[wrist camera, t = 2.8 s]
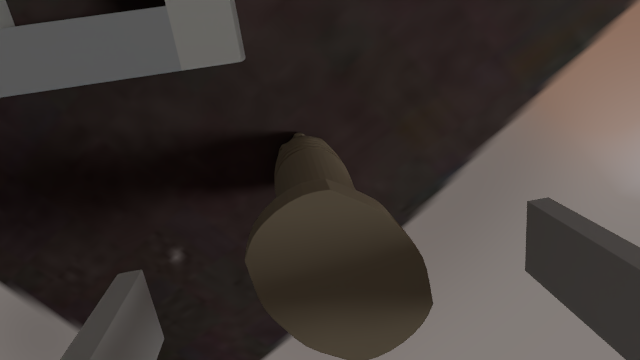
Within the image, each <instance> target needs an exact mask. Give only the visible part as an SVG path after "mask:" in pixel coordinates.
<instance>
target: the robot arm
mask: <svg viewBox="0 0 640 360" xmlns="http://www.w3.org/2000/svg"><path fill="white" fill-rule="evenodd" d="M526 230H527V231H526V262H525V271H526V272H528V273H529V274H530V275H531V276H532V277H533V278H534V279H536V280H537V281H538V282H539V283H540V284H541V285H542V286H543V287H545V288H546V289H547V290H548V291H549V292H550V293H552V295H554V296H555V297H556V298H557V299H558V300H559V301H560V302H562V303H563V304H564V305H565V306H566V307H567V308H568V309H569V310H570V311H572V312H573V313H574V314H575V315H576V316H577V317H578V318H580V319H581V320H582V321H583V322H584V323H585V324H586V325H587V326H589V327H590V328H591V329H592V330H593V331H594V332H595V333H596V334H598V335H599V336H600V337H601V338H602V339H603V340H605V341H606V342H607V343H608V344H609V345H610V346H611V347H612V348H613V349H615V350H616V351H617V352H618V353H619V354H620V355H622V357H624V358H625V359H626V360H640V247H638V246H636V245H634V244H632V243H630V242H628V241H627V240H625V239H623V238H621V237H619V236H618V235H616V234H614V233H612V232H610V231H609V230H607V229H605V228H603V227H601V226H599V225H597V224H596V223H594V222H592V221H590V220H588V219H587V218H585V217H583V216H581V215H579V214H578V213H576V212H574V211H572V210H570V209H568V208H566V207H565V206H563V205H561V204H559V203H558V202H556V201H554V200H552V199H550V198H543V199H538V200H532V201H527V229H526ZM163 340H164V336H163V333H162V330H161V327H160V324H159V321H158V318H157V315H156V311H155V308H154V305H153V302H152V299H151V296H150V293H149V290H148V287H147V284H146V281H145V277H144V274H143V271H142V270H137V271H132V272H126V273H121V274H118V275H117V276H116V278H115V279H114V281H113V282H112V284H111V285H110V287H109V288H108V290H107V291H106V293H105V294H104V296H103V297H102V298H101V300H100V301H99V303H98V304H97V306H96V307H95V309H94V310H93V312H92V313H91V315H90V316H89V318H88V319H87V321H86V322H85V324H84V325H83V327H82V328H81V330H80V331H79V333H78V334H77V336H76V337H75V339H74V340H73V342H72V343H71V345H70V346H69V347H68V349H67V350H66V352H65V353H64V355H63V356H62V358H61V359H60V360H157V357H158V354H159V351H160V349H161V346H162V343H163Z"/></svg>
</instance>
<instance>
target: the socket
mask: <svg viewBox="0 0 640 360" xmlns="http://www.w3.org/2000/svg"><path fill="white" fill-rule="evenodd" d="M165 4H166V6H162V7H155V8H147V9H140V10H133V11H125V12H118V13H111V14H103V15H96V16H89V17H82V18H74V19H67V20H60V21H52V22H45V23H38V24H31V25H23V26H16V27H15V25H14V22H13V19H12V16H11V14H10V11H9V8H8V6H7V3H6V0H0V97H7V96H14V95H21V94H27V93H34V92H41V91H48V90H54V89H61V88H68V87H74V86H81V85H88V84H95V83H101V82H108V81H115V80H122V79H128V78H135V77H142V76H148V75H155V74H162V73H169V72H175V71H182V70H189V69H196V68H202V67H209V66H216V65H222V64H229V63H236V62H242V61H243V60H244V59H245V53H244V48H243V42H242V37H241V32H240V27H239V21H238V16H237V11H236V6H235V1H234V0H165Z"/></svg>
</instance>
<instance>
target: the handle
mask: <svg viewBox="0 0 640 360" xmlns="http://www.w3.org/2000/svg"><path fill="white" fill-rule="evenodd" d="M274 180H275V192H276V196H277V198H276V199H274V200H273V201H272V202H271V203H270V204H269V205H268V206H267V207H266V208H265V209H264V210H263V211H262V213H261V214H260V216H259V217H258V218H257V220H256V221H255V223H254V225H253V227H252V230H251V232H250V235H249V238H248V242H247V246H246V253H245V262H246V265H247V268H248V271H249V274H250V277H251V279H252V282H253V285H254V287H255V290H256V293H257V295H258V298H259V300H260V301H261V303H262V305H263V307H264V309H265V310H266V311H267V312H268V313H269V315H270V316H271V317H272V318H273V319H274V320H275V321H276V322H277V323H278V324H280V325H281V326H282V327H283V328H284V329H285V330H286V331H287V332H289V333H290V334H291V335H292V336H293V337H294V338H295V339H297V340H298V341H300V342H301V343H303V344H304V345H305V346H307V347H309V348H312V349H314V350H317V351H319V352H322V353H325V354H329V355H332V356H335V357H339V358H342V359H346V360H369V359H372V358H376V357H379V356H380V355H382V354H385V353H387V352H389V351H391V350H392V349H394V348H396V347H397V346H399V345H400V344H402V343H403V342H404V341H405V340H407V339H408V338H409V337H410V336H411V335H413V334H414V333H415V332H416V330H417V329H418V328H419V327H420V326H421V325H422V324H423V322H424V321H425V319H426V317H427V316H428V314H429V312H430V309H431V307H432V305H433V301H432V295H431V289H430V284H429V278H428V273H427V269H426V266H425V263H424V260H423V257H422V256H421V254H420V253H419V251H418V249H417V247H416V246H415V244H414V243H413V242H412V240H411V239H410V237H409V236H408V235H407V234H406V232H405V231H404V230H403V229H402V227H401V226H400V225H399V224H398V223H397V221H396V220H395V219H394V218H393V217H392V216H391V215H390V213H389V212H388V211H387V210H386V209H385V208H384V207H383V206H382V205H381V204H380V203H379V202H378V201H376V200H375V199H373V198H371V197H369V196H367V195H365V194H363V193H361V192H359V191H356V190H355V188H354V186H353V183H352V181H351V178H350V176H349V174H348V171H347V169H346V167H345V166H344V164H343V163H342V161H341V160H340V158H339V157H338V155H337V154H336V153H335V152H334V151H333V150H332V149H331V148H330V147H329V146H328V145H327V144H326V143H325V142H324V141H323V140H322V139H321V138H315V137H311V136H306V135H304V134H303V133H301V132H299V133H295V134H294V136H293V138H292V139H291V140H290V141H289V142H287V143H286V144H282V145H281V147H280V149H279V152H278V157H277V161H276V165H275V172H274Z"/></svg>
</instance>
